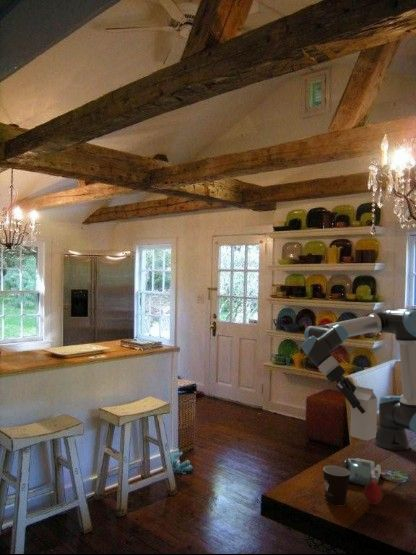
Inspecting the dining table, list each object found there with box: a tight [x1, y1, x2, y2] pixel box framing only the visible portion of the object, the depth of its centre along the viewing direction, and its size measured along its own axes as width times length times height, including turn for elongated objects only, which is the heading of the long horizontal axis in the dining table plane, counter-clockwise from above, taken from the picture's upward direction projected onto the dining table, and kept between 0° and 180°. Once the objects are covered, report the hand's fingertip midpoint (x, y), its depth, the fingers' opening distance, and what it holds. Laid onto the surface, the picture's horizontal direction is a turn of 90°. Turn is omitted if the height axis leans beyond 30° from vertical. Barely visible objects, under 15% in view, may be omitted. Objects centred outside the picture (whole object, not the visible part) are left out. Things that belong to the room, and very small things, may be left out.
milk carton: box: [349, 385, 378, 442], centre depth 171 cm, size 7×7×19 cm
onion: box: [363, 480, 384, 505], centre depth 145 cm, size 6×6×8 cm
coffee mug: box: [322, 465, 350, 506], centre depth 148 cm, size 12×9×10 cm
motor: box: [342, 457, 382, 486], centre depth 167 cm, size 19×12×8 cm, turn 152°
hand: (372, 416), depth 170 cm, fingers closed on milk carton, 9 cm apart
